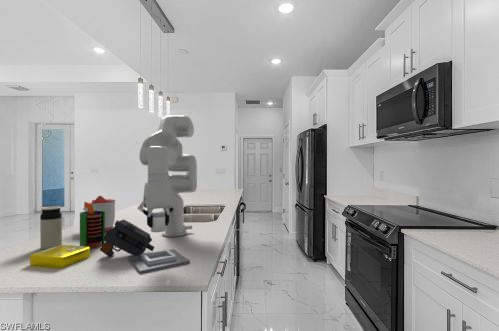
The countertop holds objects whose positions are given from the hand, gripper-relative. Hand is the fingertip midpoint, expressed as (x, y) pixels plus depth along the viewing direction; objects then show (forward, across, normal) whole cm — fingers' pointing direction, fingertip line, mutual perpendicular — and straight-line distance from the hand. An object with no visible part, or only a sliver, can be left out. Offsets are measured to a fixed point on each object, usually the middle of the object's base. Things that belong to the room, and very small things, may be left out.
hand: (158, 225), depth 109 cm
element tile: (+14, +31, -23) cm, 41 cm away
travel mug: (+14, +34, -47) cm, 60 cm away
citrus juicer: (+13, +12, -71) cm, 74 cm away
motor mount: (+14, 0, 0) cm, 14 cm away
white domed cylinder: (+2, 0, 0) cm, 2 cm away
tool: (+14, +8, -14) cm, 22 cm away
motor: (+14, +19, -38) cm, 45 cm away
